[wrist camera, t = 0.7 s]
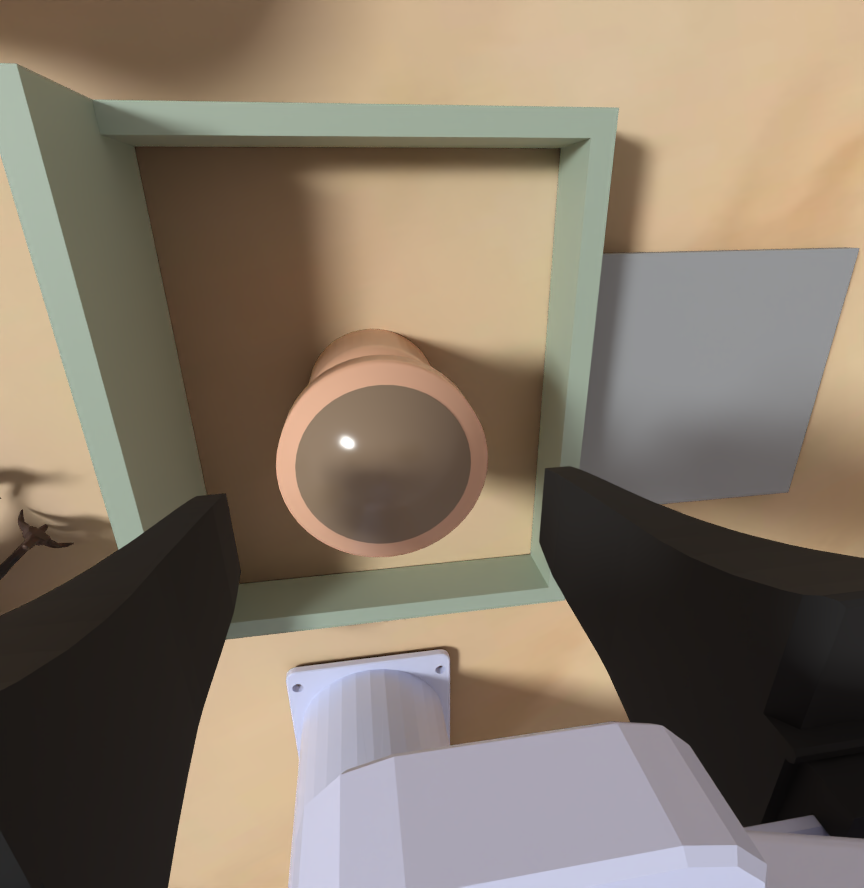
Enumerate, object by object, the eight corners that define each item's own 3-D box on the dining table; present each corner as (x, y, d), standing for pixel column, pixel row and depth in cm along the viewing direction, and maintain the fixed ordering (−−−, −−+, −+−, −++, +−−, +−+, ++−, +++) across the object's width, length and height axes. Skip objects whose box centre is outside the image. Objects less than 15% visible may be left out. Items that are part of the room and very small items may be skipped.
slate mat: (778, 486, 26) (788, 492, 25) (564, 505, 24) (570, 512, 24) (846, 247, 21) (859, 248, 21) (590, 253, 20) (597, 254, 19)
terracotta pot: (445, 453, 22) (485, 548, 16) (306, 463, 22) (289, 567, 15) (445, 315, 20) (491, 360, 14) (289, 321, 19) (261, 372, 13)
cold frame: (545, 566, 25) (599, 660, 20) (210, 601, 23) (168, 718, 18) (584, 121, 18) (687, 79, 13) (100, 116, 16) (-27, 62, 11)
